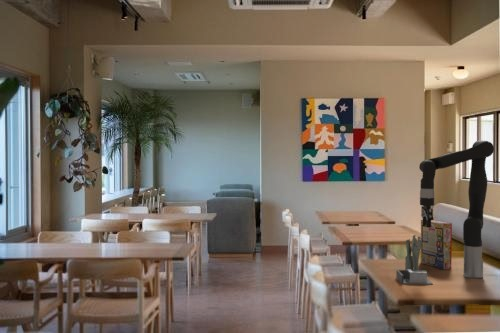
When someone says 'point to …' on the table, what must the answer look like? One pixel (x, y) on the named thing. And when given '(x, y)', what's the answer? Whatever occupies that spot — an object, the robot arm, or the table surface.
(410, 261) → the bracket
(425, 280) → the l bracket
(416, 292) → the table surface
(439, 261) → the board game box
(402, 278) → the grey l-shaped slot base
